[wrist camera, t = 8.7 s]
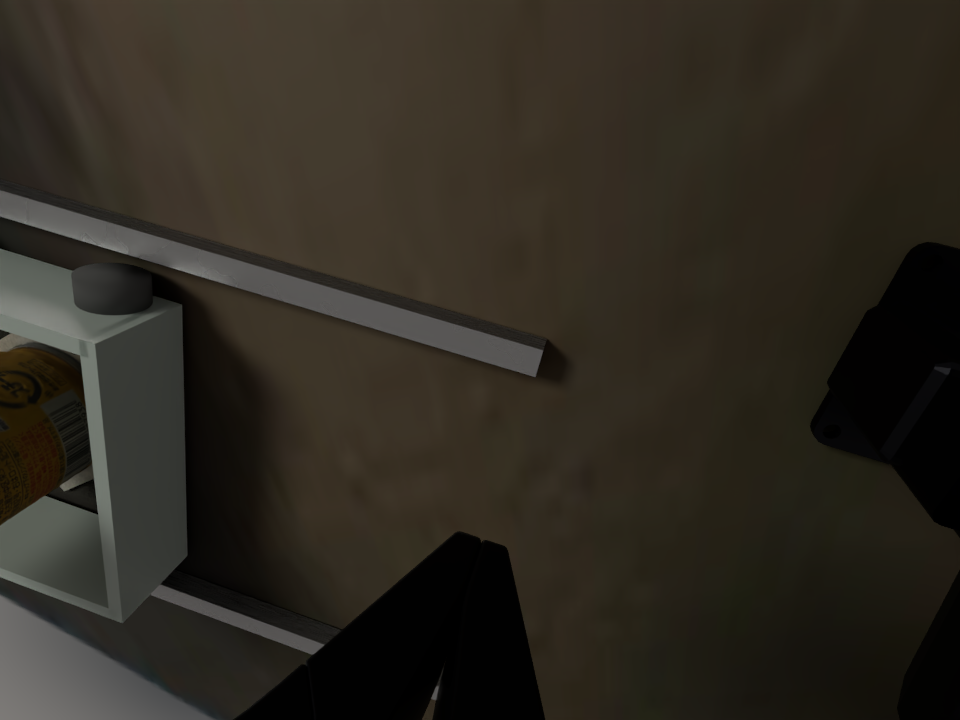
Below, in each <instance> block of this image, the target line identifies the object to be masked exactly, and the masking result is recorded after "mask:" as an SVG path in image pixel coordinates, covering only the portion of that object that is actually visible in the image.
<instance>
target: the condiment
mask: <svg viewBox="0 0 960 720" xmlns="http://www.w3.org/2000/svg"><path fill="white" fill-rule="evenodd" d="M92 479H94V473H93V465H92V456H91V447H90V438H89V429H88V420H87V412H86V403H85V394H84V385H83V376H82V367H81V359H80V355H74V354H72V353H71V352H68V351H65V350H62V349H59V348H56V347H53V346H50V345H47V344H44V343H40V342H37V341H34V340H31V339H28V338H25V337H22V336H19V335H16V334H13V333H11V334H9V335H7V336H6V337H4V338H2V339H1V340H0V525H2V524H3V523H5V522H6V521H7V520H9V519H11V518H12V517H14V516H15V515H16V514H18V513H19V512H21V511H22V510H24V509H26V508H27V507H28V506H30V505H32V504H33V503H35V502H36V501H38V500H39V499H40V498H42V497H44V496H45V495H47V494H48V493H50V492H51V491H52V490H54V489H56V488H58V487H59V486H60V487H61V488H62V489H63V491H66V490H69V489H71V488H73V487H76V486H78V485H80V484H83V483H85V482H87V481H90V480H92Z"/></svg>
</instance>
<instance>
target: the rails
mask: <svg viewBox="0 0 960 720" xmlns="http://www.w3.org/2000/svg"><path fill="white" fill-rule="evenodd" d="M0 217H4V218H7V219H10V220H14V221H17V222H20V223H24V224H27V225H30V226H34V227H37V228H40V229H44V230H47V231H50V232H54V233H57V234H60V235H64V236H67V237H70V238H74V239H77V240H80V241H84V242H87V243H90V244H94V245H97V246H100V247H104V248H107V249H110V250H114V251H117V252H120V253H124V254H127V255H130V256H134V257H137V258H140V259H144V260H147V261H150V262H154V263H157V264H160V265H164V266H167V267H170V268H174V269H177V270H180V271H184V272H187V273H190V274H193V275H197V276H200V277H203V278H207V279H210V280H213V281H217V282H220V283H223V284H227V285H230V286H233V287H237V288H240V289H243V290H247V291H250V292H253V293H257V294H260V295H263V296H267V297H270V298H273V299H277V300H280V301H283V302H287V303H290V304H293V305H297V306H300V307H303V308H307V309H310V310H313V311H317V312H320V313H323V314H327V315H330V316H333V317H337V318H340V319H343V320H347V321H350V322H353V323H357V324H360V325H363V326H367V327H370V328H373V329H377V330H380V331H383V332H387V333H390V334H393V335H397V336H400V337H403V338H407V339H410V340H413V341H417V342H420V343H423V344H427V345H430V346H433V347H437V348H440V349H443V350H447V351H450V352H453V353H457V354H460V355H463V356H467V357H470V358H473V359H476V360H480V361H483V362H486V363H490V364H493V365H496V366H500V367H503V368H506V369H510V370H513V371H516V372H520V373H523V374H526V375H530V376H533V377H536V373H537V370H538V367H539V364H540V360H541V357H542V354H543V350H544V347H545V344H546V340H547V339H545V338H542V337H538V336H535V335H531V334H528V333H525V332H521V331H518V330H514V329H511V328H508V327H504V326H501V325H497V324H494V323H490V322H487V321H484V320H480V319H477V318H473V317H470V316H466V315H463V314H460V313H456V312H453V311H449V310H446V309H443V308H439V307H436V306H432V305H429V304H425V303H422V302H419V301H415V300H412V299H408V298H405V297H401V296H398V295H395V294H391V293H388V292H384V291H381V290H378V289H374V288H371V287H367V286H364V285H360V284H357V283H354V282H350V281H347V280H343V279H340V278H336V277H333V276H330V275H326V274H323V273H319V272H316V271H313V270H309V269H306V268H302V267H299V266H295V265H292V264H289V263H285V262H282V261H278V260H275V259H271V258H268V257H265V256H261V255H258V254H254V253H251V252H248V251H244V250H241V249H237V248H234V247H230V246H227V245H224V244H220V243H217V242H213V241H210V240H207V239H203V238H200V237H196V236H193V235H189V234H186V233H183V232H179V231H176V230H172V229H169V228H165V227H162V226H159V225H155V224H152V223H148V222H145V221H142V220H138V219H135V218H131V217H128V216H124V215H121V214H118V213H114V212H111V211H107V210H104V209H100V208H97V207H94V206H90V205H87V204H83V203H80V202H77V201H73V200H70V199H66V198H63V197H59V196H56V195H53V194H49V193H46V192H42V191H39V190H35V189H32V188H29V187H25V186H22V185H18V184H15V183H12V182H8V181H5V180H1V179H0ZM150 595H152V596H155V597H158V598H160V599H163V600H166V601H168V602H171V603H174V604H177V605H179V606H182V607H185V608H187V609H190V610H193V611H196V612H198V613H201V614H204V615H206V616H209V617H212V618H214V619H217V620H220V621H223V622H225V623H228V624H231V625H233V626H236V627H239V628H242V629H244V630H247V631H250V632H252V633H255V634H258V635H260V636H263V637H266V638H269V639H271V640H274V641H277V642H279V643H282V644H285V645H287V646H290V647H293V648H296V649H298V650H301V651H304V652H306V653H309V654H312V655H313V654H314V653H316V652H317V651H318V650H319V649H320V648H321V647H323V646H324V645H325V644H326V643H327V642H328V641H330V640H331V639H332V638H333V637H334V636H335V635H337V634H338V633H339V632H340V631H341V630H340V629H337V628H334V627H332V626H329V625H326V624H323V623H321V622H318V621H315V620H312V619H310V618H307V617H304V616H301V615H299V614H296V613H293V612H290V611H287V610H285V609H282V608H279V607H276V606H274V605H271V604H268V603H265V602H263V601H260V600H257V599H254V598H252V597H249V596H246V595H243V594H241V593H238V592H235V591H232V590H230V589H227V588H224V587H221V586H219V585H216V584H213V583H210V582H207V581H205V580H202V579H199V578H196V577H194V576H191V575H188V574H185V573H183V572H180V571H177V570H173V571H172V572H171V573H170V574H169V575H168V576H167V577H166V579H165V580H164V581H163V582H162V583H161V584H160V585H159V586H158V587H157V588H156V589H155V590H154V591H153V592H152V593H151V594H150ZM443 669H444V667H443ZM442 672H443V670H442ZM441 676H442V673H441ZM441 676H440V678H439V681H438V683H437V686H436V688H435V691H434V693H433V695H432V698H431V699H434V700H436V698H437V693H438V689H439V684H440V680H441Z"/></svg>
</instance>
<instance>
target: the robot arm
mask: <svg viewBox="0 0 960 720" xmlns="http://www.w3.org/2000/svg"><path fill="white" fill-rule="evenodd" d="M930 255H935V256H936V261H935V263H934V264H933V265H932V266H931V267H930V268H927V269H922V268H921V264H922V261H923V260H924V259H925V258H926V257H927V256H930ZM827 384H828V386H829V391H828V393H827V395H826V396H825V398H824V400H823V402H822V403H821V405H820V407H819V409H818V410H817V412H816V414H815V416H814V417H813V419H812V421H811V425H810V428H811V431H812V433H813V435H814V437H815V438H816V439H817V440H818V442H820V443H822V444H824V445H827V446H831V447H834V448H837V449H841V450H844V451H847V452H851V453H854V454H857V455H861V456H864V457H868V458H871V459H874V460H878V461H881V462H884V463H888V464H891V465H892V467H893V468H894V469H895V471H896V472H897V473H898V474H899V476H900V477H901V478H902V480H903V481H904V482H905V484H906V485H907V486H908V488H909V489H910V490H911V492H912V493H913V494H914V496H915V497H916V498H917V500H918V501H919V502H920V504H921V505H922V506H923V507H924V509H925V510H926V511H927V513H928V514H929V515H930V517H931V518H932V519H933V521H934V522H936V523H938V524H939V525H941V526H945V527H948V528H951V529H953V530H954V531H955V532H956V533H957V535H958V536H959V537H960V249H958V248H954V247H950V246H947V245H943V244H939V243H933V242H926V243H922V244H919V245H917V246H916V247H914V248H912V249H911V250H910V251H909V253H908V254H907V255H906V257H905V258H904V260H903V262H902V264H901V265H900V267H899V269H898V271H897V272H896V274H895V276H894V278H893V279H892V281H891V283H890V285H889V286H888V288H887V290H886V292H885V293H884V295H883V297H882V299H881V300H880V302H879V304H878V305H877V306H875V307H873V308H871V309H870V310H868V311H867V312H866V314H865V315H864V317H863V319H862V321H861V322H860V324H859V326H858V328H857V329H856V331H855V333H854V335H853V337H852V338H851V340H850V342H849V344H848V345H847V347H846V349H845V351H844V352H843V354H842V356H841V358H840V359H839V361H838V363H837V365H836V367H835V368H834V370H833V372H832V374H831V375H830V377H829V379H828V381H827ZM831 424H832V425H837V426H836V428H835V429H834V430H833V431H831V432H823V429H824V428H825V427H826V426H828V425H831ZM480 544H481V545H480ZM446 657H447V658H446ZM445 661H446V662H445ZM444 664H445V665H444ZM443 667H444V669H443ZM442 670H443V672H442ZM441 673H442V676H441ZM440 676H441V680H440V684H439V689H438V693H437V698H436V703H435V709H434V714H433V719H432V720H545V716H544V712H543V707H542V703H541V698H540V694H539V689H538V685H537V680H536V675H535V671H534V666H533V662H532V657H531V653H530V648H529V644H528V639H527V635H526V630H525V626H524V621H523V617H522V612H521V607H520V603H519V598H518V594H517V589H516V585H515V580H514V576H513V571H512V567H511V562H510V558H509V553H508V550H507V548H506V547H505V546H503V545H500V544H497V543H494V542H491V541H488V540H483V541H482V543H481V540H480V538H478V537H476V536H473V535H470V534H467V533H464V532H461V531H459V532H456V533H454V534H453V535H452V536H451V537H450V538H448V539H447V540H446V541H445V542H444V543H443V544H441V545H440V546H439V547H438V548H437V549H436V550H434V551H433V552H432V553H431V554H430V555H429V556H427V557H426V558H425V559H424V560H423V561H422V562H420V563H419V564H418V565H417V566H416V567H415V568H413V569H412V570H411V571H410V572H409V573H408V574H406V575H405V576H404V577H403V578H402V579H401V580H399V581H398V582H397V583H396V584H395V585H394V586H393V587H391V588H390V589H389V590H388V591H387V592H386V593H384V594H383V595H382V596H381V597H380V598H379V599H377V600H376V601H375V602H374V603H373V604H372V605H370V606H369V607H368V608H367V609H366V610H365V611H363V612H362V613H361V614H360V615H359V616H358V617H356V618H355V619H354V620H353V621H352V622H351V623H349V624H348V625H347V626H346V627H345V628H344V629H342V630H341V631H340V632H339V633H338V634H337V635H335V636H334V637H333V638H332V639H331V640H330V641H328V642H327V643H326V644H325V645H324V646H323V647H321V648H320V649H319V650H318V651H317V652H316V653H314V654H313V655H312V656H311V657H310V658H309V659H307V661H306V664H305V665H304V664H302V665H300V666H299V667H298V668H297V669H295V670H294V671H293V672H292V673H291V674H290V675H289V676H287V677H286V678H285V679H284V680H283V681H282V682H280V683H279V684H278V685H277V686H275V687H274V688H273V689H272V690H271V691H269V692H268V693H267V694H266V695H264V696H263V697H262V698H261V699H259V700H258V701H257V702H256V703H254V704H253V705H252V706H251V707H249V708H248V709H247V710H246V711H244V712H243V713H242V714H240V715H239V716H237V717H236V718H235V719H233V720H422V718H423V716H424V713H425V711H426V709H427V707H428V704H429V702H430V700H431V698H432V695H433V693H434V691H435V688H436V686H437V683H438V681H439V678H440ZM897 710H898V714H899V718H900V720H960V570H959V572H958V574H957V576H956V578H955V580H954V582H953V584H952V586H951V588H950V590H949V591H948V593H947V595H946V597H945V599H944V601H943V603H942V605H941V607H940V609H939V611H938V612H937V614H936V616H935V618H934V620H933V622H932V624H931V626H930V628H929V630H928V632H927V633H926V635H925V637H924V639H923V641H922V643H921V645H920V647H919V649H918V651H917V653H916V654H915V656H914V658H913V660H912V662H911V664H910V666H909V668H908V670H907V672H906V674H905V676H904V681H903V685H902V689H901V693H900V698H899V702H898V706H897Z"/></svg>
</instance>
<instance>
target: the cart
mask: <svg viewBox="0 0 960 720" xmlns="http://www.w3.org/2000/svg"><path fill="white" fill-rule="evenodd" d="M0 330H4V331H7V332H10V333H13V334H16V335H19V336H22V337H25V338H28V339H31V340H34V341H37V342H40V343H44V344H47V345H50V346H53V347H56V348H59V349H62V350H65V351H68V352H71V353H74V354H77V355H80V359H81V367H82V376H83V385H84V394H85V403H86V412H87V420H88V429H89V438H90V447H91V456H92V465H93V473H94V482H95V491H96V500H97V509H98V515H97V514H95V513H92V512H89V511H86V510H83V509H81V508H78V507H75V506H72V505H69V504H67V503H64V502H61V501H58V500H55V499H53V498H50V497H47V496H44V497H42V498H40V499H39V500H38V501H36V502H35V503H33V504H32V505H30V506H28V507H27V508H26V509H24V510H22V511H21V512H19V513H18V514H16V515H15V516H14V517H12V518H11V519H9V520H7V521H6V522H5V523H3V524H2V525H0V577H2V578H4V579H7V580H9V581H12V582H15V583H17V584H20V585H23V586H25V587H28V588H31V589H33V590H36V591H39V592H41V593H44V594H47V595H49V596H52V597H54V598H57V599H60V600H62V601H65V602H68V603H70V604H73V605H76V606H78V607H81V608H84V609H86V610H89V611H92V612H94V613H97V614H99V615H102V616H105V617H107V618H110V619H113V620H115V621H118V622H121V623H123V622H124V621H125V620H126V619H127V618H128V617H129V616H130V615H131V614H132V613H133V612H134V611H135V610H136V609H137V608H138V607H139V606H140V605H141V604H142V603H143V601H144V600H145V599H146V598H147V597H148V596H149V595H150V594H151V593H152V592H153V591H154V590H155V589H156V588H157V587H158V586H159V585H160V584H161V583H162V582H163V581H164V580H165V579H166V577H167V576H168V575H169V574H170V573H171V572H172V571H173V570H174V569H175V568H176V567H177V566H178V565H179V564H180V563H181V562H182V561H183V560H184V559H185V558H186V557H187V512H186V465H185V418H184V372H183V325H182V304H179V303H176V302H172V301H169V300H166V299H163V298H159V297H156V296H153V292H152V275H151V273H150V272H149V271H147V270H145V269H143V268H141V267H137V266H134V265H128V264H121V263H98V264H90V265H86V266H82V267H79V268H77V269H75V270H74V271H71V270H68V269H65V268H62V267H58V266H55V265H52V264H49V263H45V262H42V261H39V260H36V259H32V258H29V257H26V256H23V255H19V254H16V253H13V252H10V251H6V250H3V249H0Z"/></svg>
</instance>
